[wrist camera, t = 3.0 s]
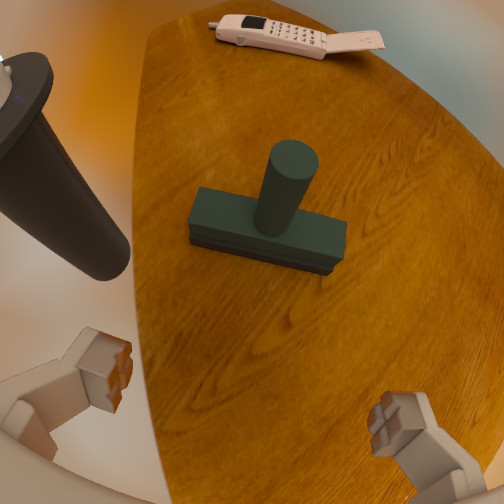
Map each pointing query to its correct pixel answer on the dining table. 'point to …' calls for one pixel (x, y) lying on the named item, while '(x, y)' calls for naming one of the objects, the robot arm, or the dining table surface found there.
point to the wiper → (272, 217)
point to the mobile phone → (292, 37)
